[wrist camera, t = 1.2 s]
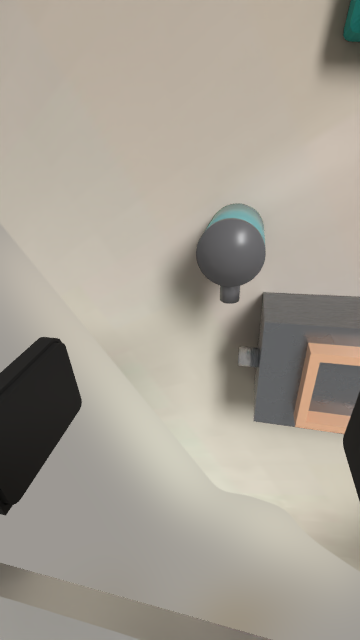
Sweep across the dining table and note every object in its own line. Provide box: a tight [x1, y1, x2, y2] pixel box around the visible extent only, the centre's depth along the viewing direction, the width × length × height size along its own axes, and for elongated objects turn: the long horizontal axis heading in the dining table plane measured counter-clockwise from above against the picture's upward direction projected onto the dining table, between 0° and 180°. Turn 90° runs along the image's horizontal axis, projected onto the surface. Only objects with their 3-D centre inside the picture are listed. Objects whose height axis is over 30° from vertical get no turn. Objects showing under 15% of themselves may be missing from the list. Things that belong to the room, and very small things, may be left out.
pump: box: [196, 204, 265, 303], centre depth 25 cm, size 5×7×7 cm
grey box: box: [238, 292, 360, 434], centre depth 28 cm, size 18×12×8 cm, turn 93°
